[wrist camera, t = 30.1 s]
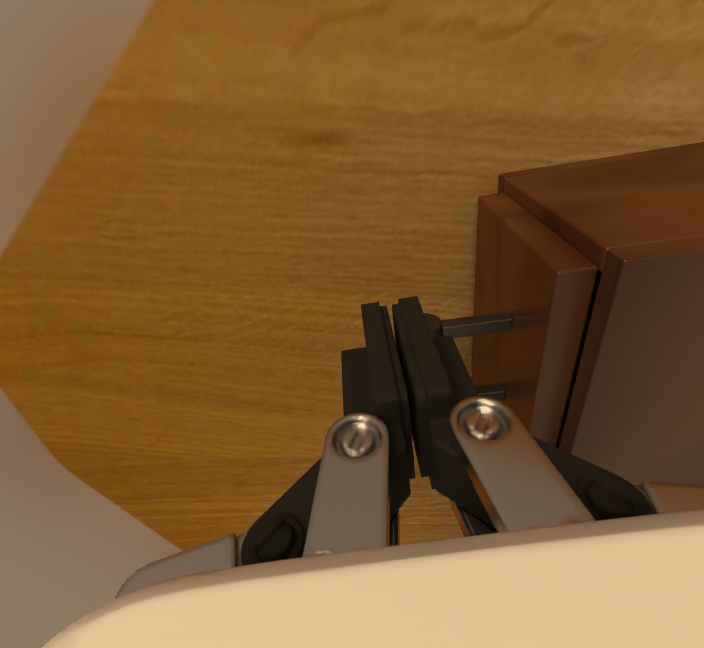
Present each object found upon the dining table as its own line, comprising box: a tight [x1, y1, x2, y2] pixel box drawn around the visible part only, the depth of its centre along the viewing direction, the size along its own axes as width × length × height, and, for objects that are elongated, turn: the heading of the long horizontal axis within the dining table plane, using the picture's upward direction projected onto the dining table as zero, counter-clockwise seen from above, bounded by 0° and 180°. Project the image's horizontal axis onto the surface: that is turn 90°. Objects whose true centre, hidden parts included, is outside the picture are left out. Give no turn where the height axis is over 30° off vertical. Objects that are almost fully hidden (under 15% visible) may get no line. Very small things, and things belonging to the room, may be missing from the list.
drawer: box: [424, 193, 602, 447], centre depth 17 cm, size 18×11×8 cm, turn 98°
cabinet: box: [498, 142, 704, 485], centre depth 17 cm, size 15×13×10 cm
